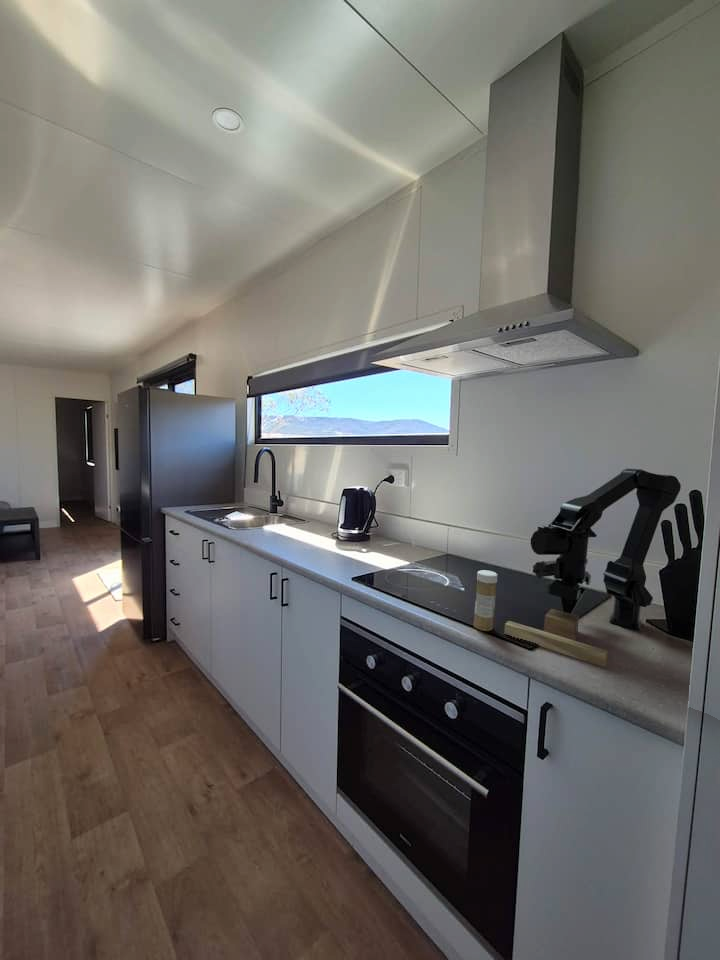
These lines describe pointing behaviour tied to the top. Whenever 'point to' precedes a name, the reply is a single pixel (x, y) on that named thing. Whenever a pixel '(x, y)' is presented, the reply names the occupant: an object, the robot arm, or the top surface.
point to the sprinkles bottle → (485, 600)
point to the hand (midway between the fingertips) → (566, 616)
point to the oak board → (557, 643)
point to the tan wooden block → (561, 624)
